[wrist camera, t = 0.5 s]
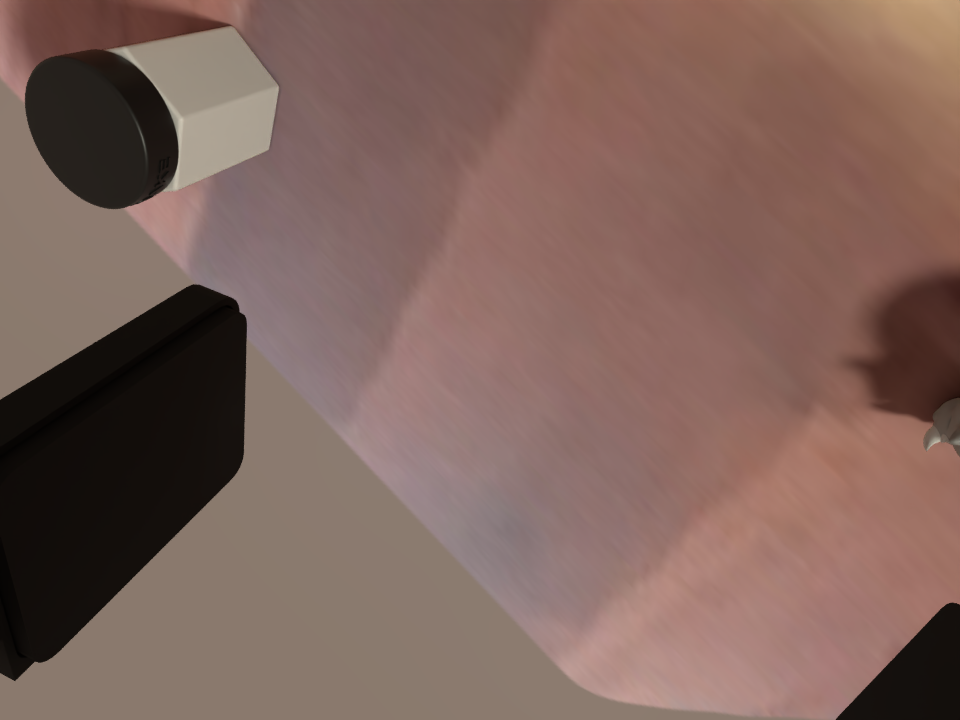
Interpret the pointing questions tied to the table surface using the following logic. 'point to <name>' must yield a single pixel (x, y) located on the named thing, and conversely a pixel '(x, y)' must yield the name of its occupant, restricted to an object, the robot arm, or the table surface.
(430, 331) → the table surface
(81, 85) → the jar
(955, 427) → the toy rhinoceros
